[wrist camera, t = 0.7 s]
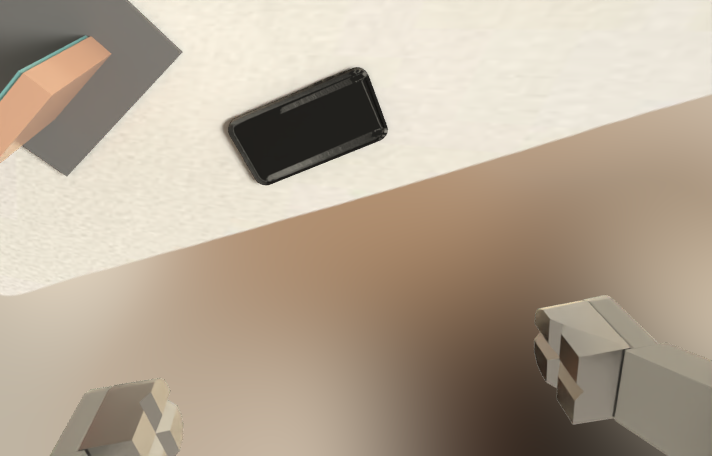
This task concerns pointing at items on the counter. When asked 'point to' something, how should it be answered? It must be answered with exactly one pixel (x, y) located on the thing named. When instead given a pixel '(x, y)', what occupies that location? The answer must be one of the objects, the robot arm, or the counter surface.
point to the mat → (108, 84)
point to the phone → (309, 127)
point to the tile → (45, 91)
